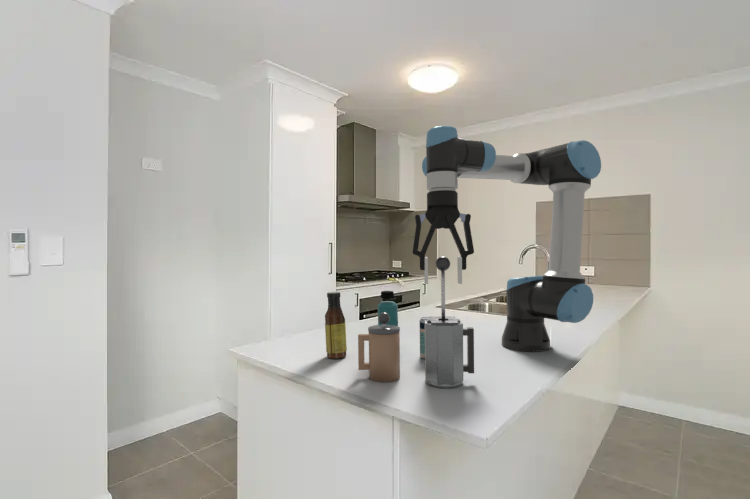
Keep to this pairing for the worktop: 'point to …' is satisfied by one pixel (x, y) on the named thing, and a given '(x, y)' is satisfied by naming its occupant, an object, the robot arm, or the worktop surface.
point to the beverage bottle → (388, 308)
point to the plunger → (442, 280)
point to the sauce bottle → (335, 328)
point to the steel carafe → (447, 352)
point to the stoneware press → (381, 351)
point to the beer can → (422, 336)
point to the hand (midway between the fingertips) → (443, 283)
